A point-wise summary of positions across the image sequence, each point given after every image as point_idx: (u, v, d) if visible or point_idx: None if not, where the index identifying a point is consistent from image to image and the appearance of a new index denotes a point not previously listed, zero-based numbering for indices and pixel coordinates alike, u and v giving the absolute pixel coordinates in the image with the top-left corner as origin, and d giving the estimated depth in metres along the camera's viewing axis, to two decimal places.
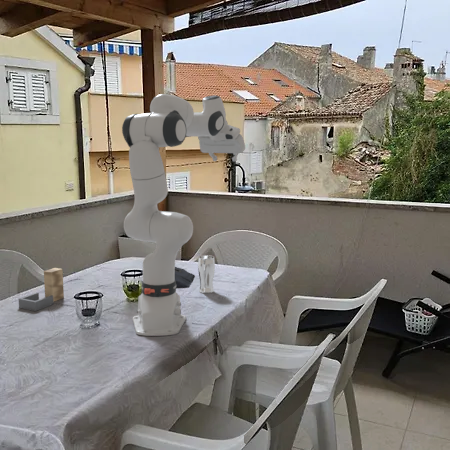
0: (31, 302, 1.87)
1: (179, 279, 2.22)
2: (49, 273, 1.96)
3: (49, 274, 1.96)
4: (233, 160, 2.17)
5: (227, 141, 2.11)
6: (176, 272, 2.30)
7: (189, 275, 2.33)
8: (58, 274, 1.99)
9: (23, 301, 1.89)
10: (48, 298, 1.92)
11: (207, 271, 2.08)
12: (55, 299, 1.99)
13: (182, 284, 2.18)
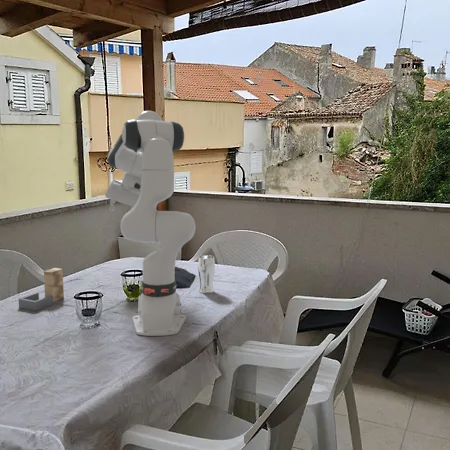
0: (31, 302, 1.87)
1: (180, 279, 2.22)
2: (49, 273, 1.96)
3: (49, 274, 1.96)
4: None
5: (133, 191, 2.19)
6: (177, 272, 2.29)
7: (190, 275, 2.32)
8: (58, 274, 1.99)
9: (23, 301, 1.89)
10: (48, 298, 1.92)
11: (207, 271, 2.08)
12: (55, 299, 1.99)
13: (182, 284, 2.18)
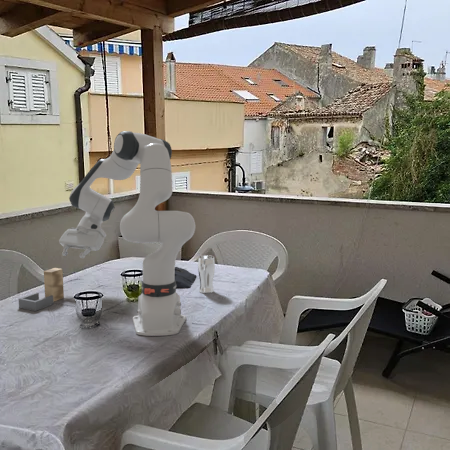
0: (31, 302, 1.87)
1: (180, 279, 2.21)
2: (49, 273, 1.96)
3: (49, 274, 1.96)
4: (80, 254, 2.06)
5: (89, 233, 2.10)
6: (178, 272, 2.29)
7: (191, 275, 2.32)
8: (58, 274, 1.99)
9: (23, 301, 1.89)
10: (48, 298, 1.92)
11: (207, 271, 2.08)
12: (55, 299, 1.99)
13: (183, 284, 2.18)
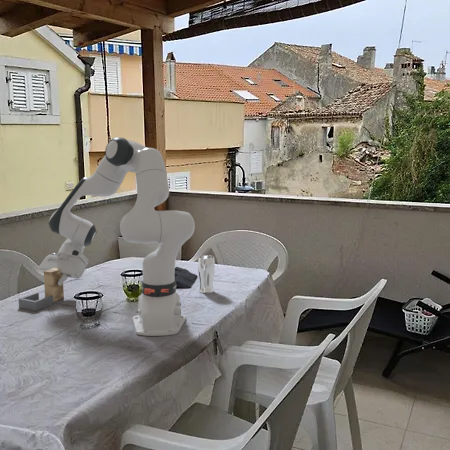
0: (31, 302, 1.87)
1: (181, 279, 2.21)
2: (49, 273, 1.96)
3: (49, 274, 1.96)
4: (57, 282, 1.98)
5: (70, 259, 2.01)
6: (178, 272, 2.29)
7: (192, 275, 2.32)
8: (58, 274, 1.99)
9: (23, 301, 1.89)
10: (48, 298, 1.92)
11: (207, 271, 2.08)
12: (55, 299, 1.99)
13: (184, 284, 2.17)
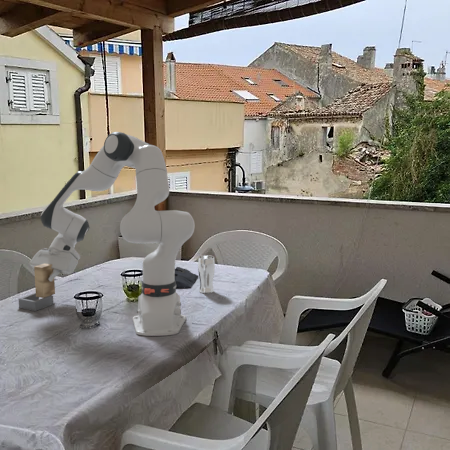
0: (31, 302, 1.87)
1: (181, 279, 2.21)
2: (40, 268, 1.91)
3: (40, 269, 1.91)
4: (47, 277, 1.93)
5: (61, 254, 1.97)
6: (179, 272, 2.29)
7: (192, 275, 2.31)
8: (49, 269, 1.95)
9: (23, 301, 1.89)
10: (48, 298, 1.92)
11: (207, 271, 2.08)
12: (46, 295, 1.94)
13: (184, 285, 2.17)
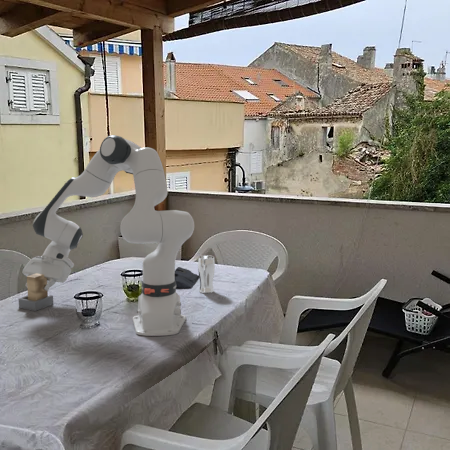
0: (31, 302, 1.87)
1: (182, 280, 2.21)
2: (32, 278, 1.88)
3: (32, 279, 1.88)
4: (44, 286, 1.90)
5: (54, 263, 1.94)
6: (180, 273, 2.29)
7: (193, 275, 2.31)
8: (42, 279, 1.92)
9: (23, 301, 1.89)
10: (48, 298, 1.92)
11: (207, 271, 2.08)
12: None
13: (184, 285, 2.17)
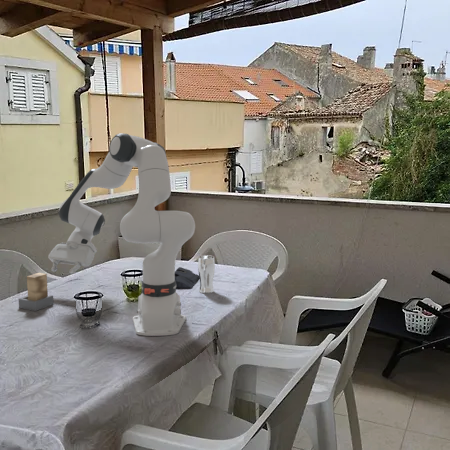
0: (31, 302, 1.87)
1: (182, 280, 2.20)
2: (32, 278, 1.88)
3: (32, 279, 1.88)
4: (70, 270, 2.00)
5: (79, 248, 2.05)
6: (181, 273, 2.28)
7: (194, 276, 2.31)
8: (42, 279, 1.92)
9: (23, 301, 1.89)
10: (48, 298, 1.92)
11: (207, 271, 2.08)
12: None
13: (185, 285, 2.16)
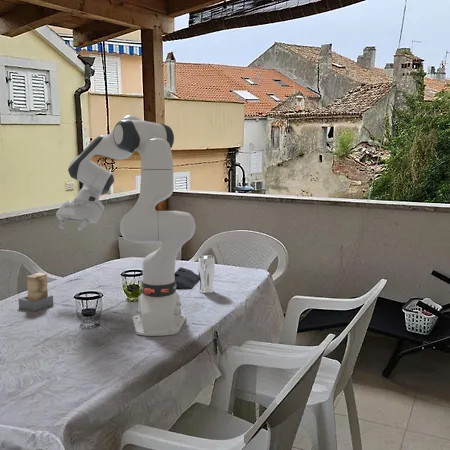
0: (31, 302, 1.87)
1: (183, 280, 2.20)
2: (32, 278, 1.88)
3: (32, 279, 1.88)
4: (78, 226, 2.01)
5: (87, 205, 2.05)
6: (181, 273, 2.28)
7: (195, 276, 2.30)
8: (42, 279, 1.92)
9: (23, 301, 1.89)
10: (48, 298, 1.92)
11: (207, 271, 2.08)
12: None
13: (185, 285, 2.16)
